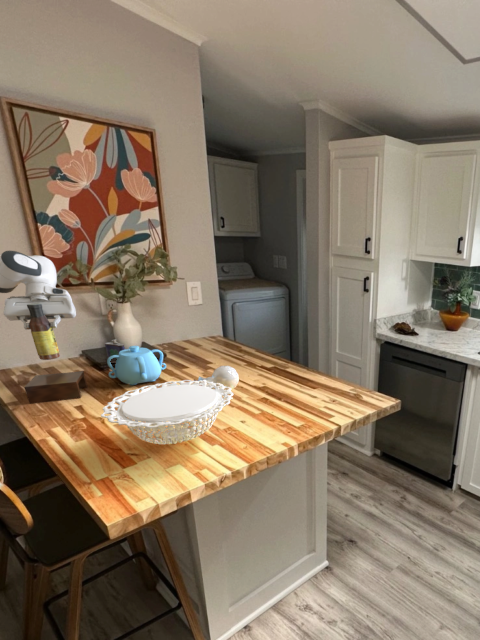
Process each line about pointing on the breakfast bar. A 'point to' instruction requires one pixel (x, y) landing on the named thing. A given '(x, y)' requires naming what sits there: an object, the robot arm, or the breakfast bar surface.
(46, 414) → the breakfast bar surface
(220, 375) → the potion bottle
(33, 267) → the robot arm
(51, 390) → the shelf
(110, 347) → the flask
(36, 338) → the sauce bottle
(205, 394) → the white lattice bowl
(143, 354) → the decorative pot
